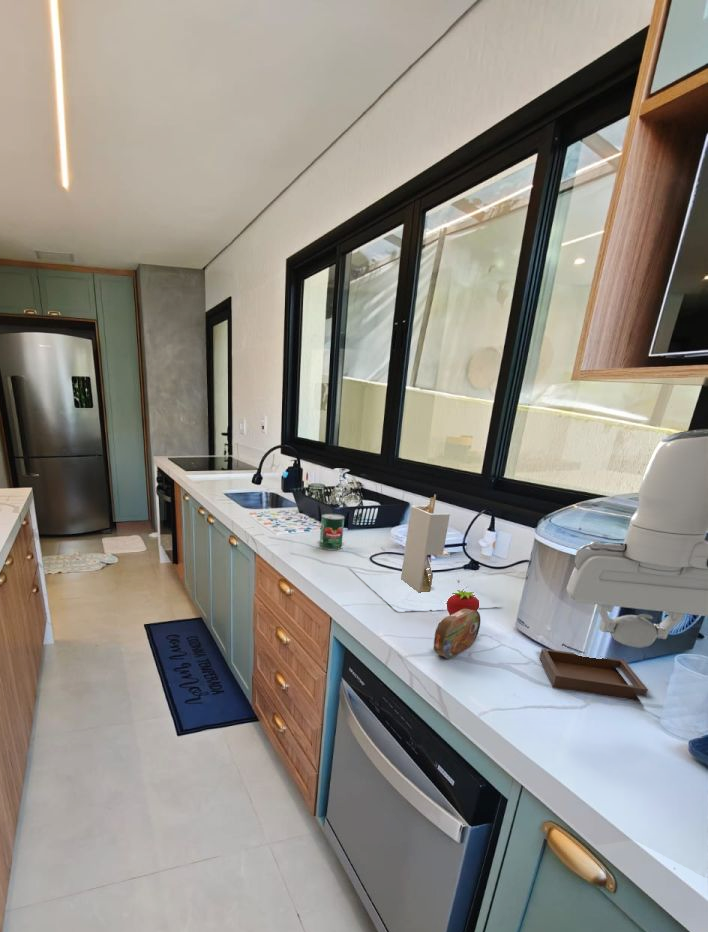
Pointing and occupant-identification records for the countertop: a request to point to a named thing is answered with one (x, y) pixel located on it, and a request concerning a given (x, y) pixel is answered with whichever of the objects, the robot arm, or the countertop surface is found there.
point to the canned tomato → (331, 531)
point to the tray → (591, 675)
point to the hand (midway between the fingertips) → (631, 634)
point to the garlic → (634, 630)
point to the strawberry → (462, 602)
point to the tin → (456, 633)
